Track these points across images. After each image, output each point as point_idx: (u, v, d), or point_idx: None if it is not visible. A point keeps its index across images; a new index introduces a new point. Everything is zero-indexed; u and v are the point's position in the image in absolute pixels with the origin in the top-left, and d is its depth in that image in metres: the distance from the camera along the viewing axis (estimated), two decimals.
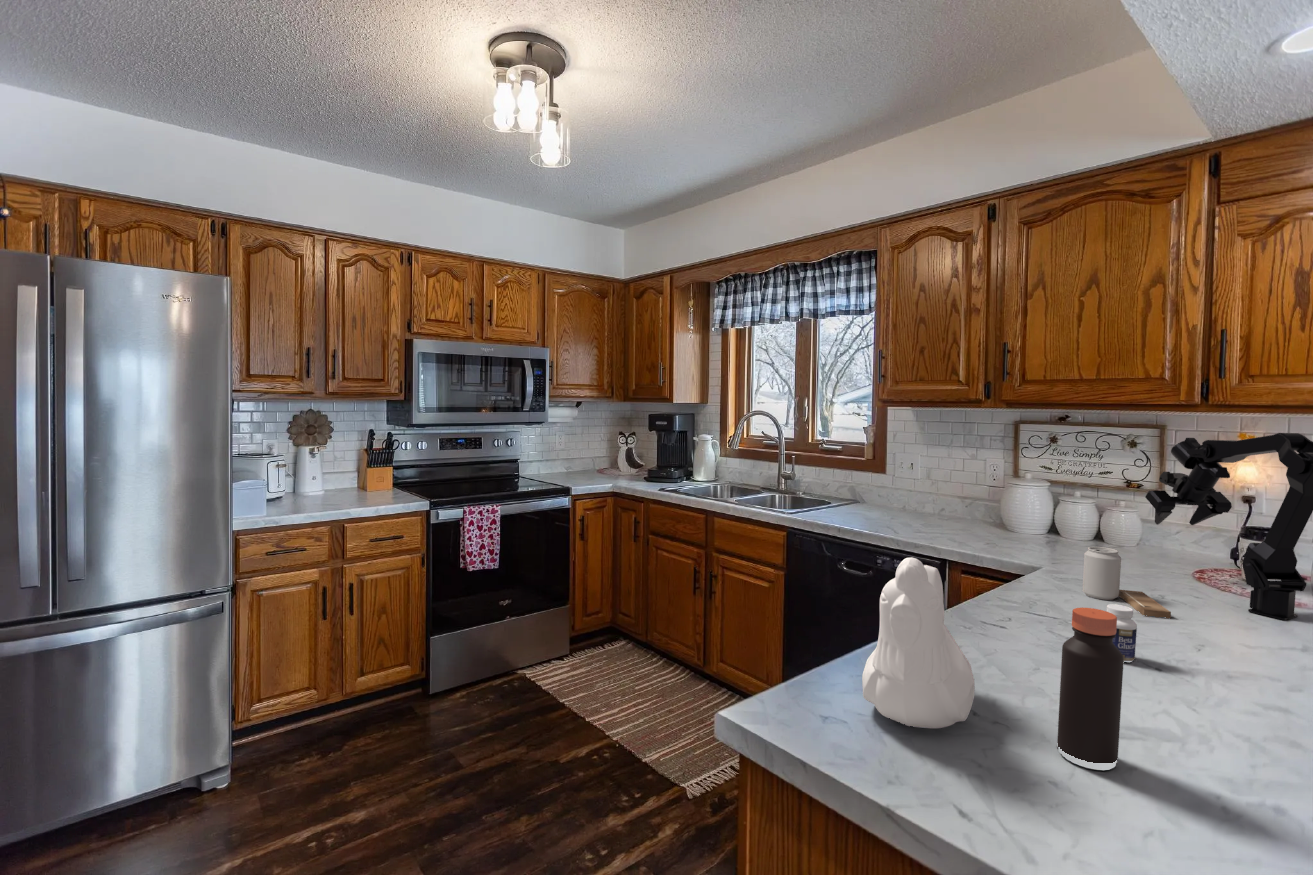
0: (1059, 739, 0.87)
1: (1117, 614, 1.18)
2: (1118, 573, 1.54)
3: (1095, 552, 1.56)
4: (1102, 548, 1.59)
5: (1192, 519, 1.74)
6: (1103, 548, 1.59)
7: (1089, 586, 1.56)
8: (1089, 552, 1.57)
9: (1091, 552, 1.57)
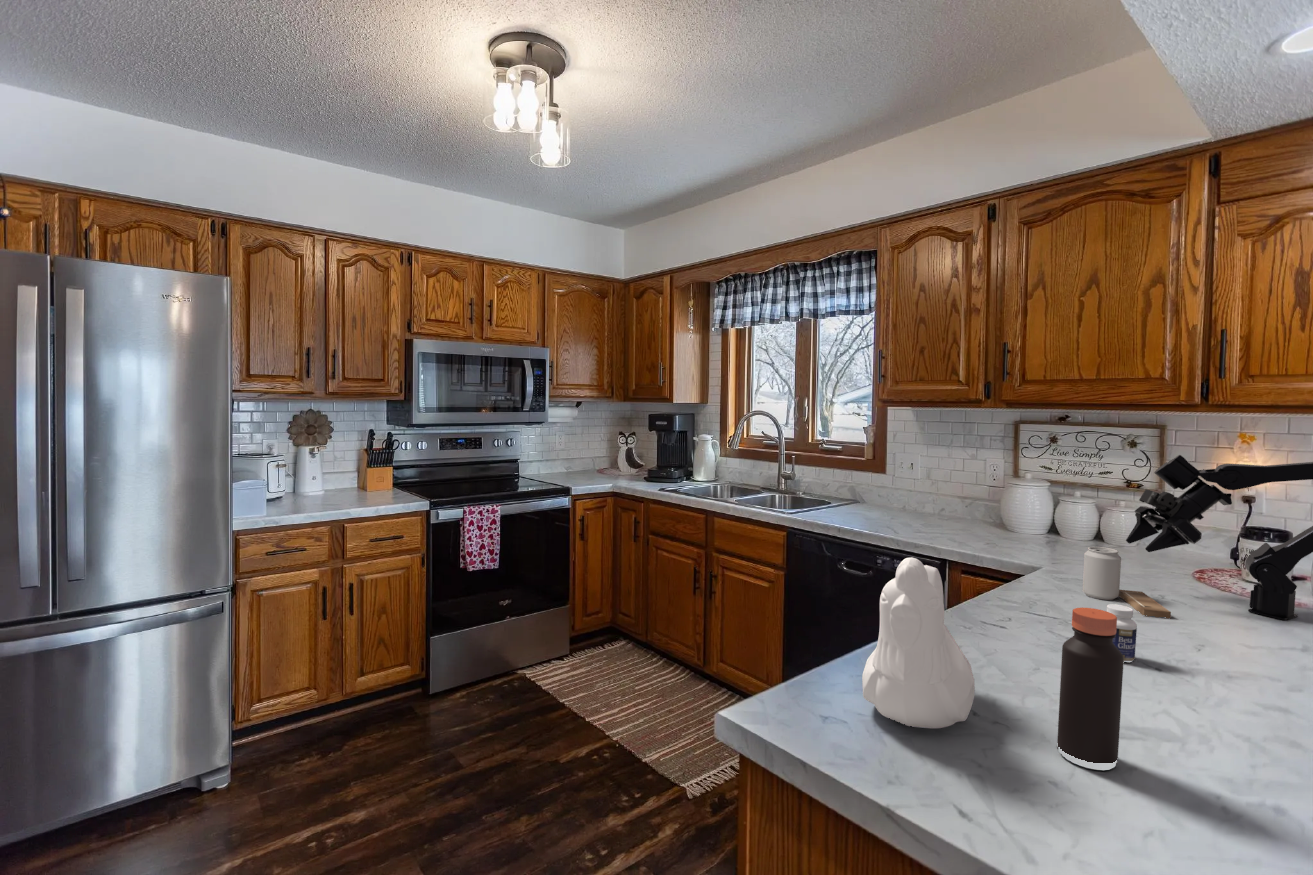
0: (1059, 739, 0.87)
1: (1117, 614, 1.18)
2: (1118, 573, 1.54)
3: (1095, 552, 1.56)
4: (1102, 548, 1.59)
5: (1131, 537, 1.59)
6: (1103, 548, 1.59)
7: (1089, 586, 1.56)
8: (1089, 552, 1.57)
9: (1091, 552, 1.57)
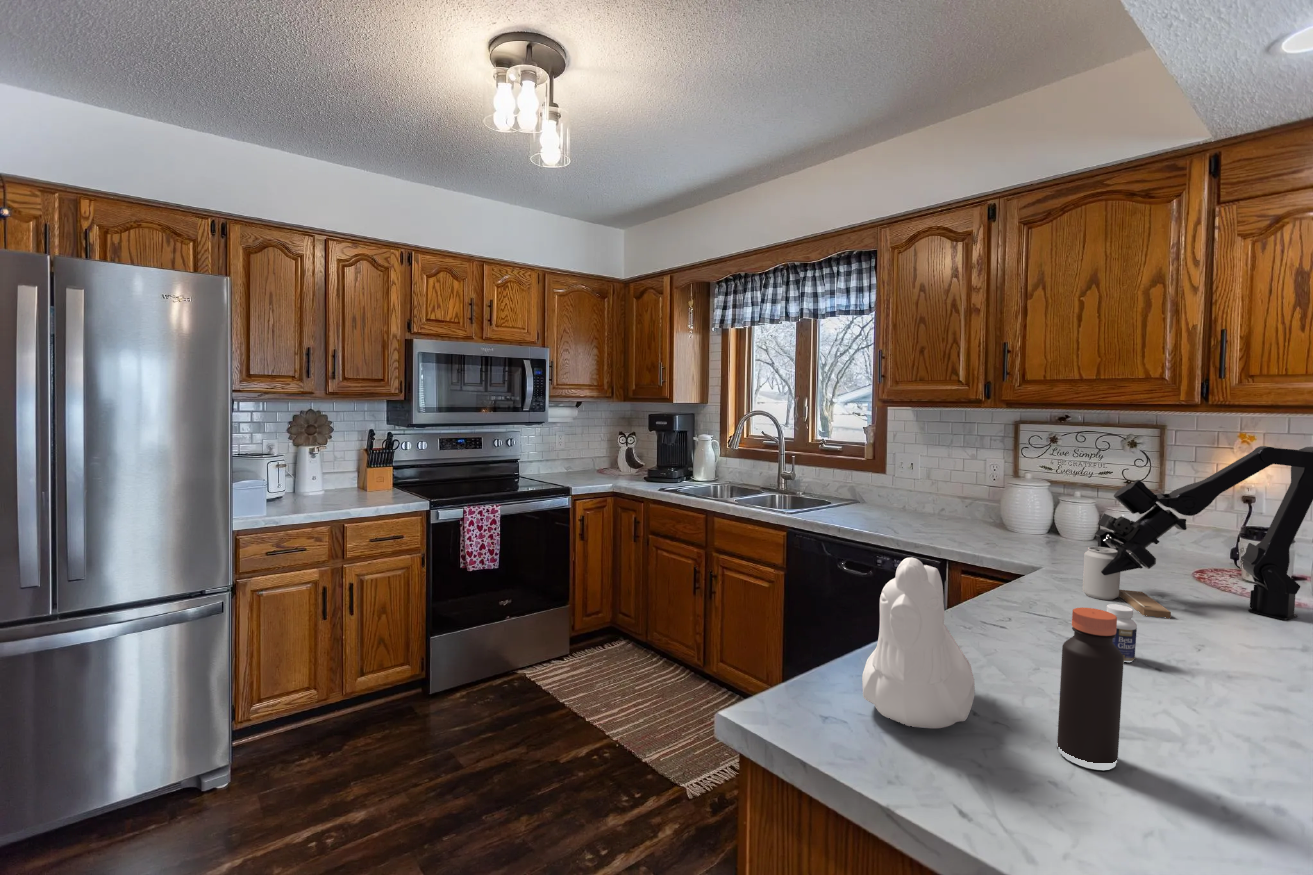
0: (1059, 739, 0.87)
1: (1117, 614, 1.18)
2: (1118, 573, 1.54)
3: (1095, 552, 1.56)
4: (1102, 548, 1.59)
5: None
6: (1103, 548, 1.59)
7: (1089, 586, 1.56)
8: (1089, 552, 1.57)
9: (1091, 552, 1.57)
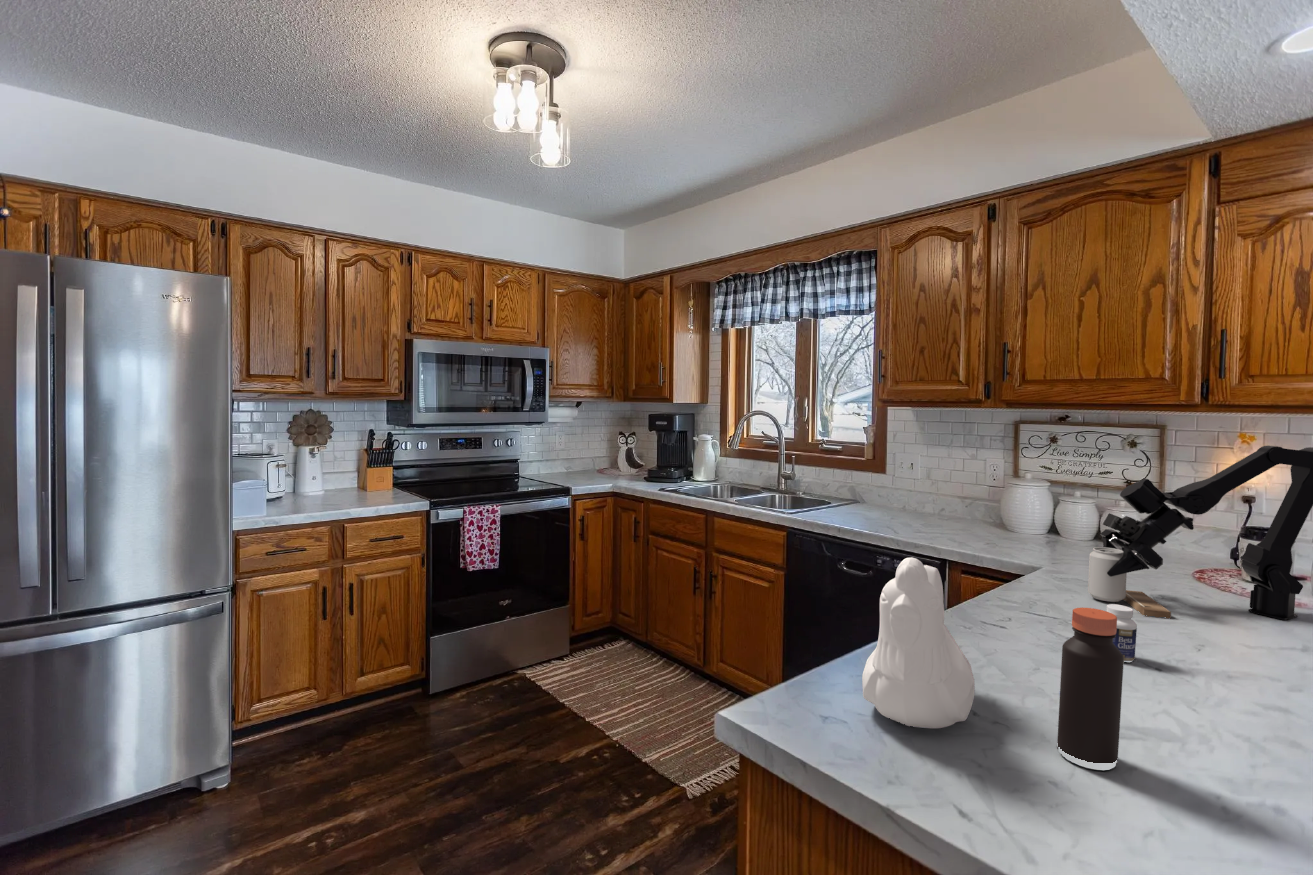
0: (1059, 739, 0.87)
1: (1117, 614, 1.18)
2: (1124, 574, 1.51)
3: (1100, 553, 1.52)
4: (1108, 548, 1.56)
5: None
6: (1109, 548, 1.56)
7: (1095, 588, 1.53)
8: (1094, 553, 1.54)
9: (1096, 553, 1.53)
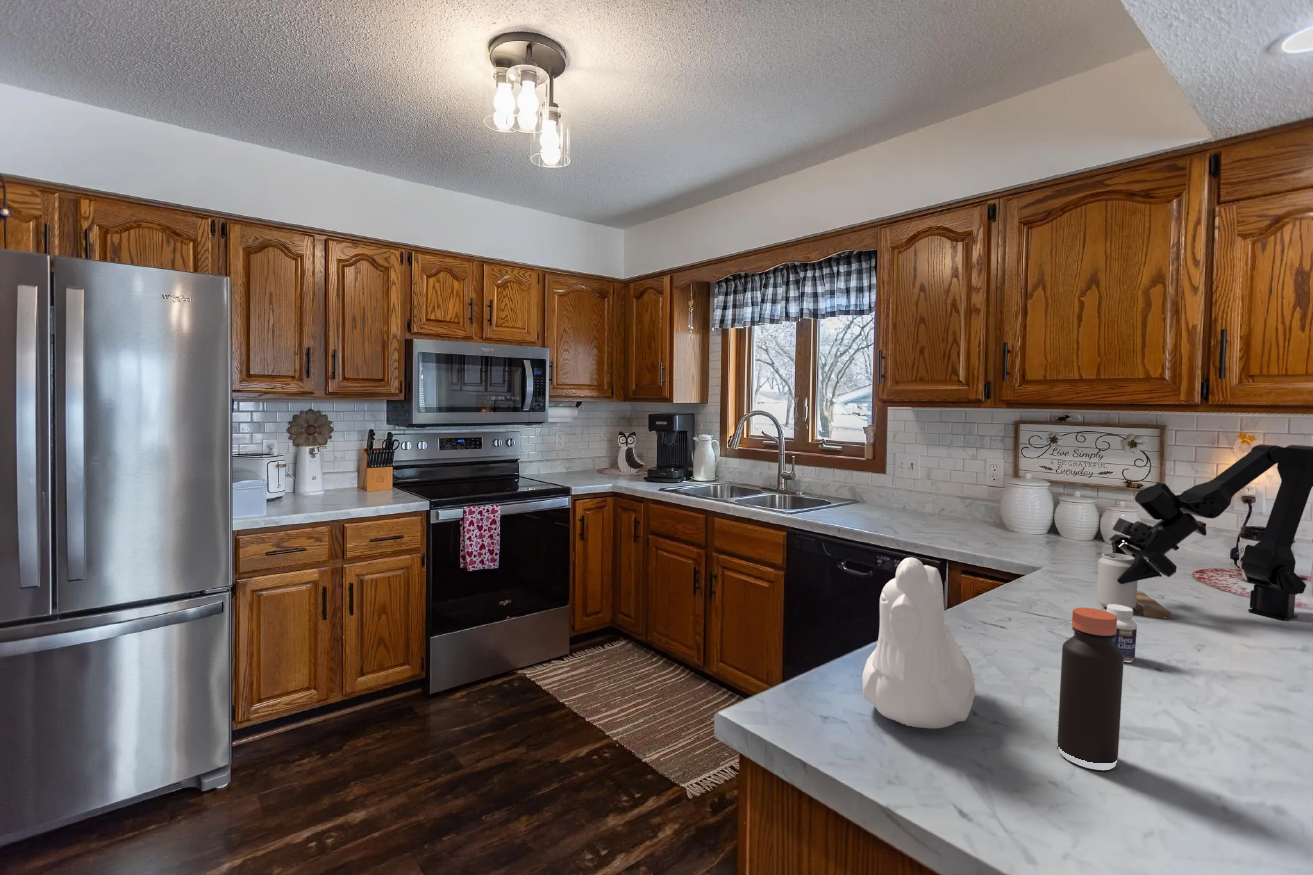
0: (1059, 739, 0.87)
1: (1117, 614, 1.18)
2: (1135, 581, 1.44)
3: (1110, 559, 1.46)
4: (1117, 555, 1.49)
5: None
6: (1119, 555, 1.49)
7: (1105, 596, 1.47)
8: (1104, 559, 1.47)
9: (1106, 559, 1.47)
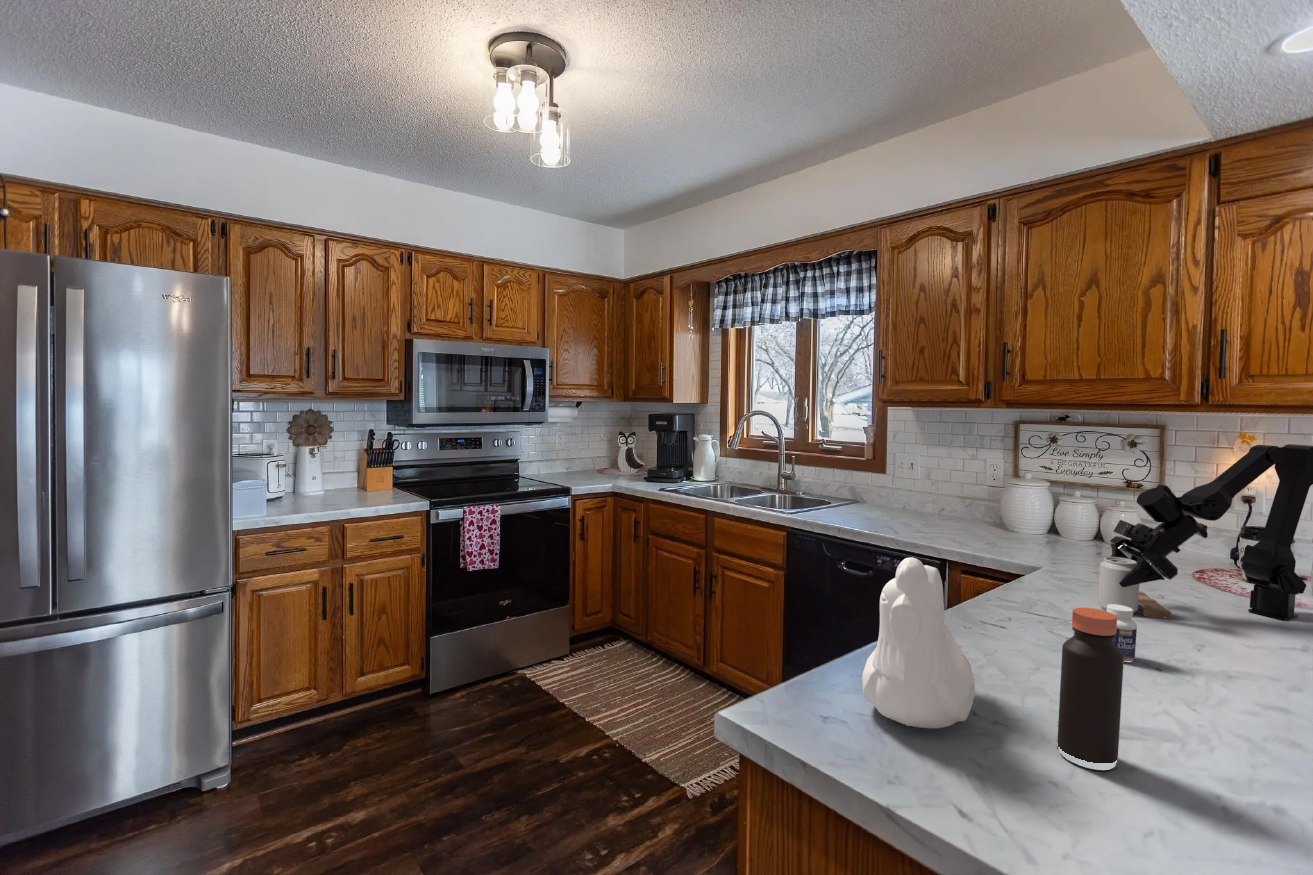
0: (1059, 739, 0.87)
1: (1117, 614, 1.18)
2: (1137, 586, 1.44)
3: (1112, 563, 1.45)
4: (1119, 558, 1.49)
5: None
6: (1120, 558, 1.49)
7: (1106, 600, 1.46)
8: (1106, 563, 1.47)
9: (1108, 563, 1.46)
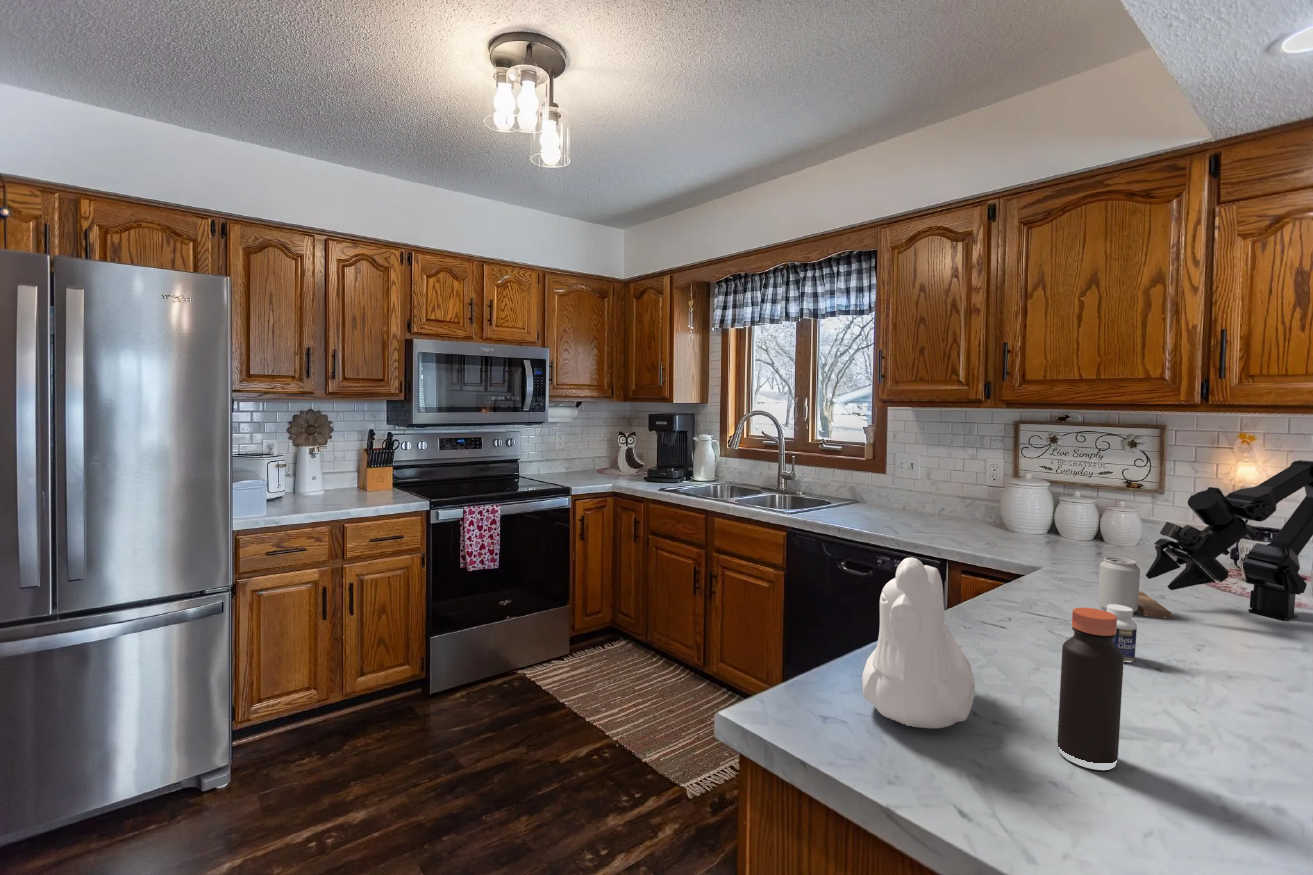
0: (1059, 739, 0.87)
1: (1117, 614, 1.18)
2: (1137, 586, 1.44)
3: (1112, 563, 1.45)
4: (1119, 558, 1.49)
5: (1151, 572, 1.49)
6: (1120, 558, 1.49)
7: (1106, 600, 1.46)
8: (1105, 563, 1.47)
9: (1108, 563, 1.46)
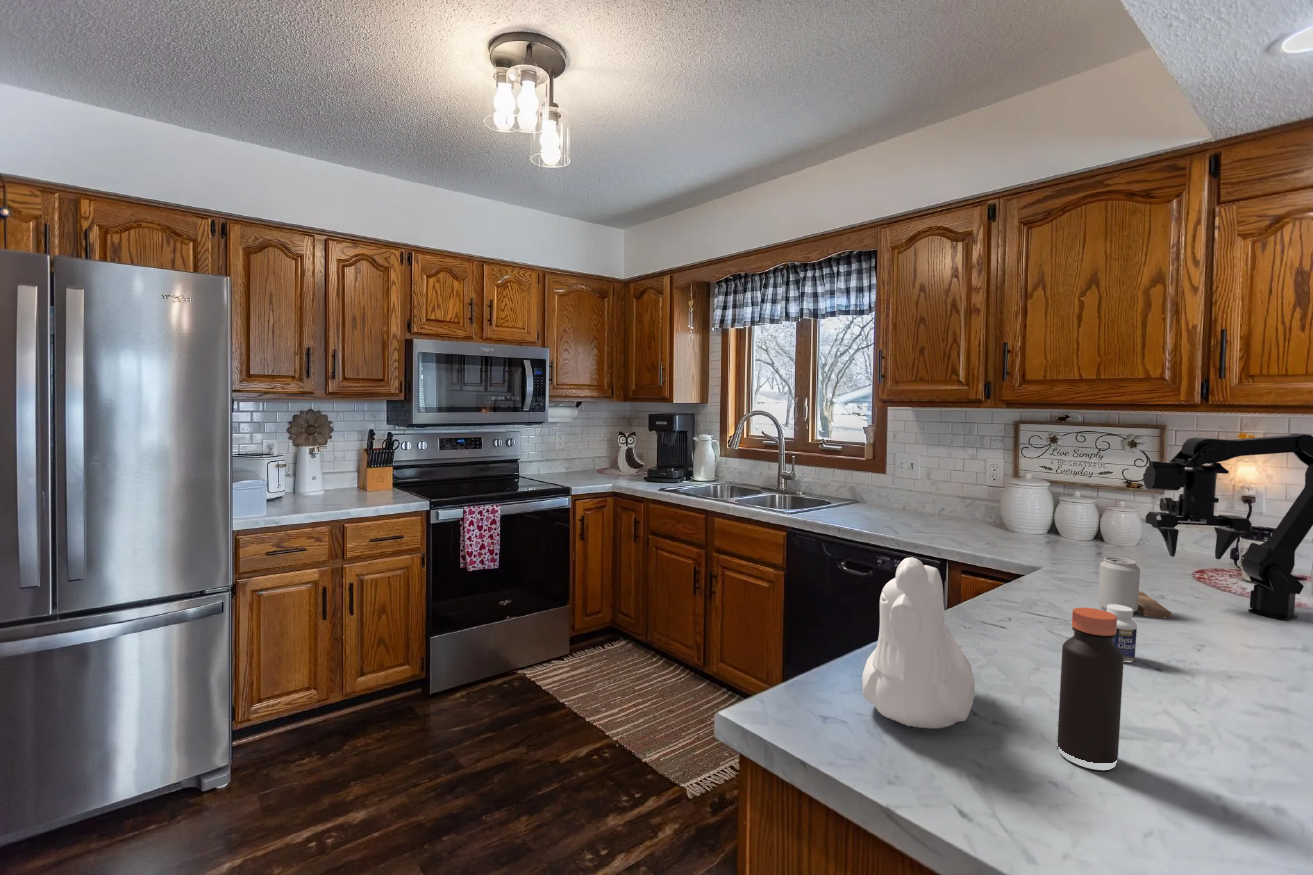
0: (1059, 739, 0.87)
1: (1117, 614, 1.18)
2: (1137, 586, 1.44)
3: (1112, 563, 1.45)
4: (1119, 558, 1.49)
5: (1217, 552, 1.48)
6: (1120, 558, 1.49)
7: (1106, 600, 1.46)
8: (1105, 563, 1.47)
9: (1108, 563, 1.46)
